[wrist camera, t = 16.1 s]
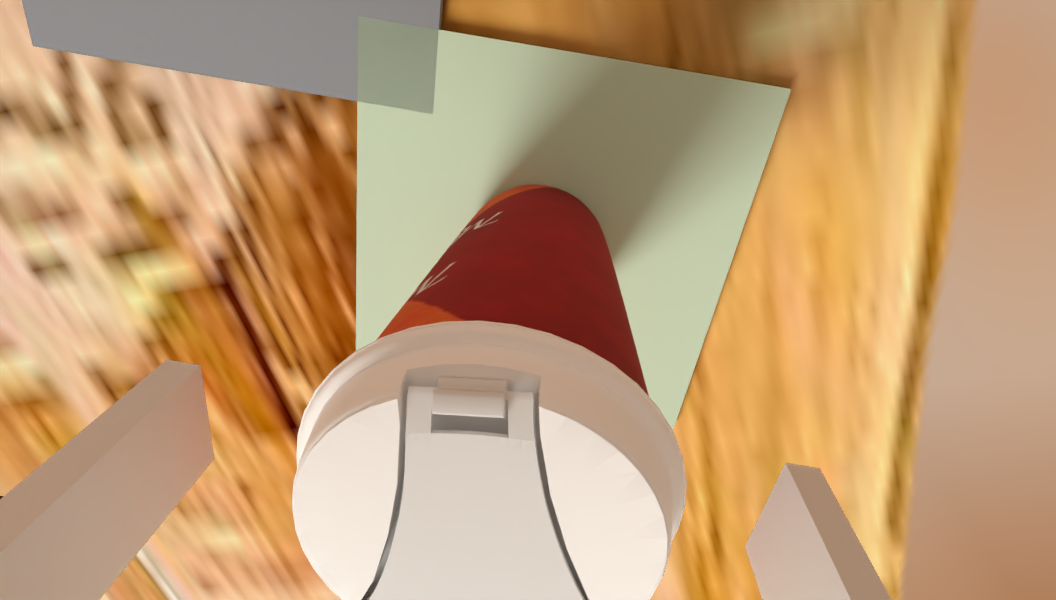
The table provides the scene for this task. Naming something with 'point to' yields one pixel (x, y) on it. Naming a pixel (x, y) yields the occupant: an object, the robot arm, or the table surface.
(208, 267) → the table surface
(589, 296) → the coffee cup
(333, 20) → the pad grey
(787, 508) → the robot arm
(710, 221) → the pad green
